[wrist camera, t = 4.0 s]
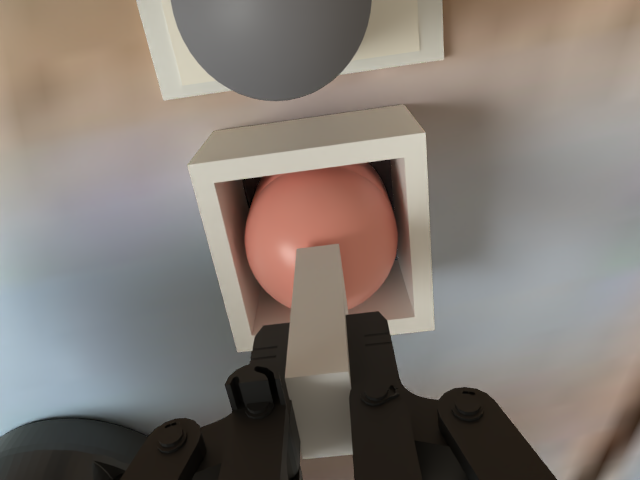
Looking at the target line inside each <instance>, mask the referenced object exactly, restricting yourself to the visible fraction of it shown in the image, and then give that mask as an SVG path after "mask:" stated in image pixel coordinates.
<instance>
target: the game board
mask: <svg viewBox="0 0 640 480" xmlns="http://www.w3.org/2000/svg"><path fill="white" fill-rule="evenodd" d="M136 2H137V5H138V9H139V13H140V16H141V20H142V24H143V27H144V31H145V35H146V38H147V42H148V46H149V49H150V53H151V57H152V60H153V64H154V68H155V71H156V75H157V79H158V82H159V86H160V90H161V93H162V97H163V100H170V99H177V98H184V97H191V96H198V95H205V94H212V93H219V92H225V91H232V90H230V89H228V88H227V87H225V86H224V85H222V84H221V83H219V82H218V81H216V80H215V79H214V78H213V77H212V76H210V75H209V74H208V73H207V72H206V71H205V70H204V69H203V68H202V67H201V66H200V65H199V64H198V62H197V61H196V60H195V58H194V57H193V56H192V54H191V53H190V51H189V50H188V48H187V46H186V44H185V43H184V41H183V39H182V37H181V34H180V32H179V30H178V28H177V24H176V21H175V18H174V15H173V10H172V5H171V0H136ZM439 60H444V40H443V2H442V0H372V3H371V13H370V17H369V22H368V26H367V29H366V32H365V35H364V38H363V40H362V42H361V44H360V46H359V48H358V51H357V52H356V54H355V55H354V57H353V58H352V60H351V61H350V63H349V64H348V65H347V66H346V68H345V69H344V70H343V71H342V72H341V73H340V74H339V75H342V74H349V73H356V72H363V71H370V70H377V69H384V68H390V67H397V66H404V65H411V64H418V63H425V62H432V61H439ZM389 159H390V166H391V179H392V191H393V204H394V216H395V219H396V224H397V231H398V245H397V254H398V260H395V261H394V264H393V266H392V268H391V270H390V273H389V275H388V277H387V278H386V280H385V281H384V283H383V284H382V285H381V287H380V288H379V289H378V290H377V291H376V292H375V293H374V294H373V295H372V296H371V297H370V298H368V299H367V300H366V301H364V302H363V303H361V304H359V305H358V306H356V307H354V308H351V309H349V310H348V315H349V314H358V313H366V312H375V311H379V312H380V313H381V314H382V315H383V316H384V318H385V319H386V320H387V321H388V326H389V331H390V335H397V334H406V333H415V332H423V331H432V330H435V326H434V304H433V282H432V260H431V238H430V216H429V194H428V172H427V149H426V132H425V131H424V130H423V128H422V127H421V126H420V124H419V123H418V122H417V121H416V119H415V118H414V117H413V115H412V114H411V113H410V112H409V110H408V109H407V108H406V106H405V105H404V104H403V105H396V106H388V107H381V108H374V109H367V110H360V111H353V112H346V113H339V114H332V115H325V116H317V117H310V118H303V119H296V120H289V121H282V122H275V123H268V124H261V125H254V126H246V127H239V128H232V129H225V130H218V131H213V132H212V134H211V135H210V136H209V138H208V139H207V140H206V142H205V143H204V144H203V145H202V147H201V148H200V149H199V151H198V152H197V153H196V154H195V156H194V157H193V158H192V160H191V161H190V162H189V163H188V165H187V166H188V170H189V174H190V178H191V181H192V185H193V189H194V192H195V196H196V200H197V204H198V207H199V211H200V215H201V219H202V222H203V226H204V230H205V234H206V237H207V241H208V245H209V248H210V252H211V256H212V260H213V263H214V267H215V271H216V275H217V278H218V282H219V286H220V289H221V293H222V297H223V301H224V304H225V308H226V312H227V316H228V319H229V323H230V327H231V331H232V334H233V338H234V342H235V345H236V349H237V353H238V352H247V351H253V349H252V348H253V343H254V338H255V336H256V334H257V333H258V332H259V330H260V329H261V328H262V327H263V325H272V324H281V323H289V322H290V316H291V308H288V307H286V306H285V305H283V304H281V303H279V302H278V301H277V300H275V299H274V298H273V297H272V296H270V295H269V294H268V293H267V292H266V291H265V290H264V289H263V287H262V286H261V285H260V284H259V282H258V281H257V279H256V278H255V276H254V274H253V272H252V270H251V268H250V266H249V263H248V260H247V256H246V250H245V243H244V233H245V226H246V220H247V217H248V213H249V209H248V204H247V200H246V195H245V191H244V186H243V181H242V179H247V178H255V177H262V176H270V175H277V174H284V173H292V172H299V171H307V170H314V169H322V168H329V167H336V166H344V165H351V164H359V163H366V162H374V161H381V160H389Z"/></svg>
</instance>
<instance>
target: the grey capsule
mask: <svg viewBox="0 0 640 480" xmlns="http://www.w3.org/2000/svg"><path fill="white" fill-rule="evenodd" d="M371 3H372V0H171V5H172V10H173V15H174V18H175V21H176V24H177V28H178V30H179V32H180V34H181V37H182V39H183V41H184V43H185V44H186V46H187V48H188V50H189V51H190V53H191V54H192V56H193V57H194V58H195V60H196V61H197V62H198V64H199V65H200V66H201V67H202V68H203V69H204V70H205V71H206V72H207V73H208V74H209V75H210V76H212V77H213V78H214V79H215V80H216V81H218V82H219V83H221V84H222V85H224V86H225V87H227V88H228V89H230V90H233V91H235V92H237V93H239V94H241V95H244V96H247V97H250V98H254V99H260V100H267V101H283V100H291V99H296V98H300V97H303V96H306V95H308V94H311V93H313V92H315V91H317V90H319V89H321V88H323V87H324V86H325V85H327V84H328V83H330V82H331V81H333V80H334V79H335V78H336V77H337V76H338V75H339V74H340V73H341V72H342V71H343V70H344V69H345V68H346V66H347V65H348V64H349V63H350V61H351V60H352V58H353V57H354V55H355V54H356V52H357V51H358V48H359V46H360V44H361V42H362V40H363V38H364V35H365V32H366V29H367V26H368V22H369V17H370V13H371Z"/></svg>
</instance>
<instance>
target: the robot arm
mask: <svg viewBox="0 0 640 480" xmlns="http://www.w3.org/2000/svg"><path fill="white" fill-rule="evenodd" d="M252 349H253V351H252V353H251V361H250V364H249V365H245V366H243V367H241V368H239V369H238V370H236V371H235V372H234V373H233V374H231V375H230V376H229V377H228V379H227V381H226V383H225V387H226V390H227V394H228V397H229V400H230V404H231V407H232V413H231V414H230V415H228V416H227V417H225V418H223V419H221V420H219V421H217V422H214V423H212V424H209V425H206V426H203V427H201V428H200V426H199V425H198V424H197V423H196V422H195V421H194V420H191V419H187V418H179V419H174V420H171V421H168V422H165V423H164V424H162V425H161V426H159V427H157V428H156V429H155V430H154V431H153V432H152V433H151V434H150V435H149V436H148V437H147V436H145V435H143V434H141V433H138V432H136V431H133V430H131V429H128V428H125V427H121V426H118V425H114V424H110V423H105V422H100V421H94V420H85V419H53V420H46V421H40V422H35V423H31V424H27V425H24V426H22V427H19V428H16V429H14V430H12V431H10V432H8V433H6V434H5V435H3V436H2V437H0V480H303V478H302V472H301V468H300V449H301V454H302V458H303V459H312V458H323V457H333V456H343V455H353V464H354V479H355V480H557V479H556V478H555V476H554V475H553V474H552V472H551V471H550V470H549V469H548V467H547V466H546V465H545V464H544V462H543V461H542V460H541V459H540V457H539V456H538V455H537V453H536V452H535V451H534V450H533V448H532V447H531V446H530V445H529V443H528V442H527V441H526V440H525V438H524V437H523V436H522V435H521V433H520V432H519V431H518V429H517V428H516V427H515V426H514V424H513V423H512V422H511V421H510V419H509V418H508V417H507V416H506V414H505V413H504V412H503V410H502V409H501V408H500V407H499V405H498V404H497V403H496V402H495V400H494V399H492V398H491V397H490V396H489V395H488V394H487V393H485V392H482V391H480V390H478V389H474V388H467V387H462V388H455V389H452V390H450V391H448V392H446V393H444V394H443V396H442V397H441V398H440V399H439V400H434V399H427V398H423V397H419V396H417V395H415V394H412V393H411V392H409V391H408V390H407V389H405V387H404V386H403V385H402V384H401V381H400V379H399V375H398V370H397V365H396V360H395V355H394V350H393V346H392V341H391V336H390V331H389V326H388V321H387V320H386V319H385V318H384V316H383V315H382V314H381V313H380V312H379V311H375V312H366V313H358V314H349V315H348V306H347V299H346V291H345V284H344V277H343V269H342V262H341V255H340V248H339V244H331V245H323V246H315V247H307V248H299V249H297V251H296V262H295V273H294V284H293V294H292V305H291V316H290V322H289V323H281V324H272V325H263V327H262V328H261V329H260V330H259V332H258V333H257V334H256V336H255V338H254V343H253V348H252Z"/></svg>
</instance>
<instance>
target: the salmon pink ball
mask: <svg viewBox="0 0 640 480" xmlns="http://www.w3.org/2000/svg"><path fill="white" fill-rule="evenodd" d="M244 243H245V250H246V256H247V260H248V263H249V266H250V268H251V270H252V272H253V274H254V276H255V278H256V279H257V281H258V282H259V284H260V285H261V286H262V287H263V289H264V290H265V291H266V292H267V293H268V294H269V295H270V296H272V297H273V298H274V299H275V300H277V301H278V302H279V303H281V304H283V305H285V306H286V307H288V308H291V305H292V294H293V284H294V273H295V262H296V251H297V249H299V248H307V247H315V246H323V245H331V244H339V248H340V255H341V262H342V269H343V277H344V284H345V291H346V299H347V306H348V310H349V309H351V308H354V307H356V306H358V305H359V304H361V303H363V302H364V301H366V300H367V299H368V298H370V297H371V296H372V295H373V294H374V293H375V292H376V291H377V290H378V289H379V288H380V287H381V285H382V284H383V283H384V281H385V280H386V278H387V277H388V275H389V273H390V270H391V268H392V266H393V264H394V260H395V257H396V252H397V245H398V231H397V224H396V219H395V216H394V212H393V209H392V206H391V204H390V201H389V198H388V195H387V192H386V189H385V186H384V184H383V182H382V180H381V178H380V176H379V174H378V173H377V171H376V170H375V169H374V168H373V167H372V166H371V164H370V163H368V162H366V163H359V164H351V165H344V166H336V167H329V168H322V169H314V170H307V171H299V172H292V173H284V174H277V175H270V176H262V177H261V179H260V181H259V183H258V186H257V188H256V191H255V194H254V198H253V201H252V204H251V207H250V210H249V213H248V217H247V220H246V226H245V233H244Z"/></svg>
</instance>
